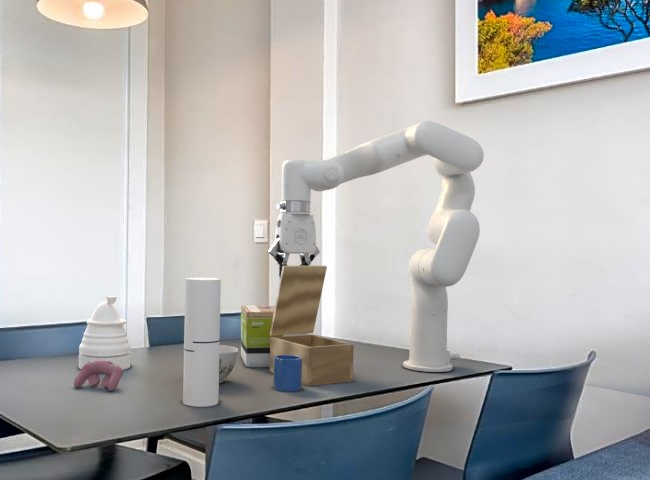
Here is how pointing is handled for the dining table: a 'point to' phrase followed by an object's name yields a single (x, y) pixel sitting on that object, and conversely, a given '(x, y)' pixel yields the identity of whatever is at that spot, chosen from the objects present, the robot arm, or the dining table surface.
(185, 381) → the cylindrical container
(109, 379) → the video game controller
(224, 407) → the dining table surface
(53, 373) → the dining table surface
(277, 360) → the cup
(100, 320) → the honey pot
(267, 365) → the tea box
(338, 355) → the wooden box
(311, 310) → the lid
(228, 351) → the teacup
